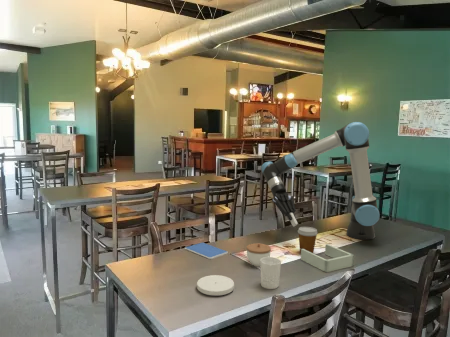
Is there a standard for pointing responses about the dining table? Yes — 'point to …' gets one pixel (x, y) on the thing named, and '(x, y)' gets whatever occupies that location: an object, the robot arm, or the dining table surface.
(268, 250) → the lidded jar
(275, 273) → the white cup
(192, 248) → the blue notebook
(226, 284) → the plastic lid
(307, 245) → the disposable coffee cup
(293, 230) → the dining table surface
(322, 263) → the tub
